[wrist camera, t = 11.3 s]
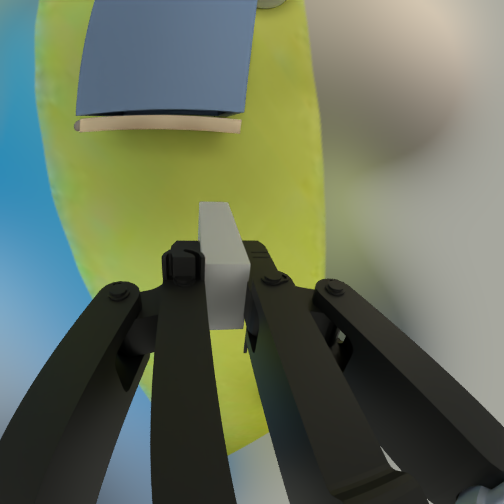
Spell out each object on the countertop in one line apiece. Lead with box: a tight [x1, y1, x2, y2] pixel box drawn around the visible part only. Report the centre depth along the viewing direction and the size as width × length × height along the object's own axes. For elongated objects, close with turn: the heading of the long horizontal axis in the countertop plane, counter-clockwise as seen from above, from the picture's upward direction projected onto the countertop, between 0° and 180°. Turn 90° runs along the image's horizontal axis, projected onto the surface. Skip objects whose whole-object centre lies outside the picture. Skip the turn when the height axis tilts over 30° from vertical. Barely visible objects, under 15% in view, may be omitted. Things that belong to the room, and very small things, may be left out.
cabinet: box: [76, 0, 258, 117], centre depth 21 cm, size 12×14×13 cm
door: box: [74, 115, 241, 134], centre depth 24 cm, size 1×15×11 cm, turn 83°
